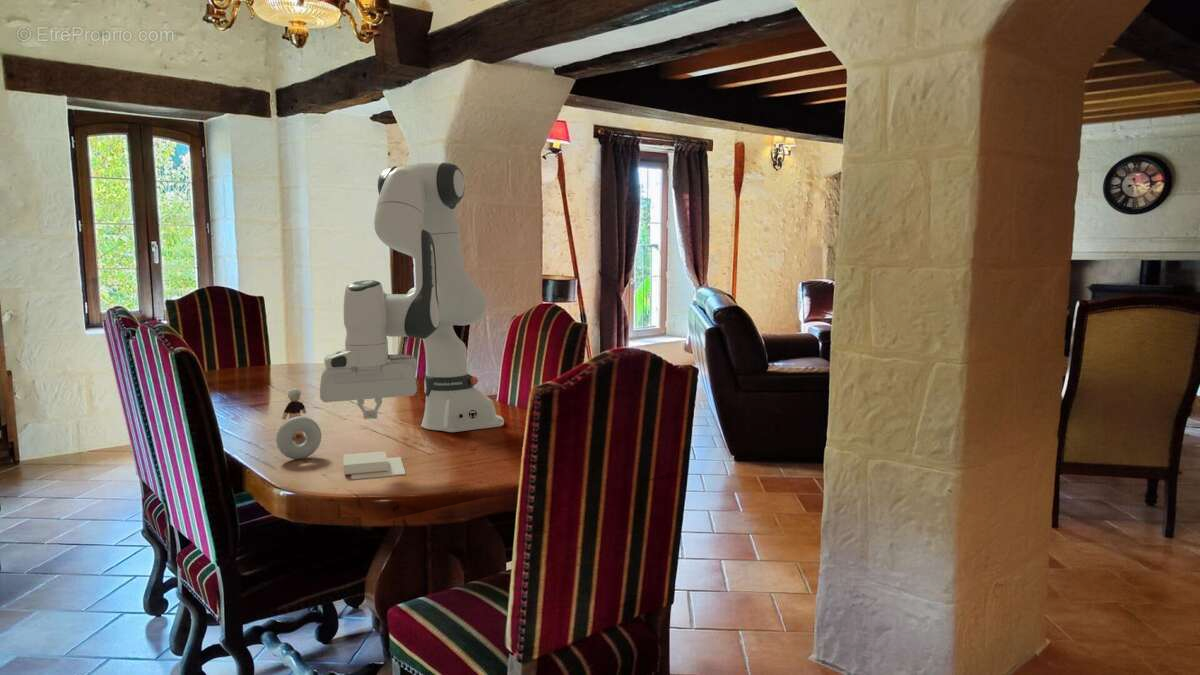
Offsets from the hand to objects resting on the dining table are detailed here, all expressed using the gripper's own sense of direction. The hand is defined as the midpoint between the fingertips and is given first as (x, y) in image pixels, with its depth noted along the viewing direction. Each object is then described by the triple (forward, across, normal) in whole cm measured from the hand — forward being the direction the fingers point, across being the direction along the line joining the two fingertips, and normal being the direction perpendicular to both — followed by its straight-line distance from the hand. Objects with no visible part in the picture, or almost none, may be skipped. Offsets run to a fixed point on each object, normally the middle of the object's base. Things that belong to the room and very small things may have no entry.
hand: (370, 418), depth 165 cm
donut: (+11, +16, -14) cm, 24 cm away
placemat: (+11, -1, 0) cm, 11 cm away
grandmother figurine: (+12, +17, -38) cm, 43 cm away
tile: (+10, +6, 0) cm, 11 cm away
